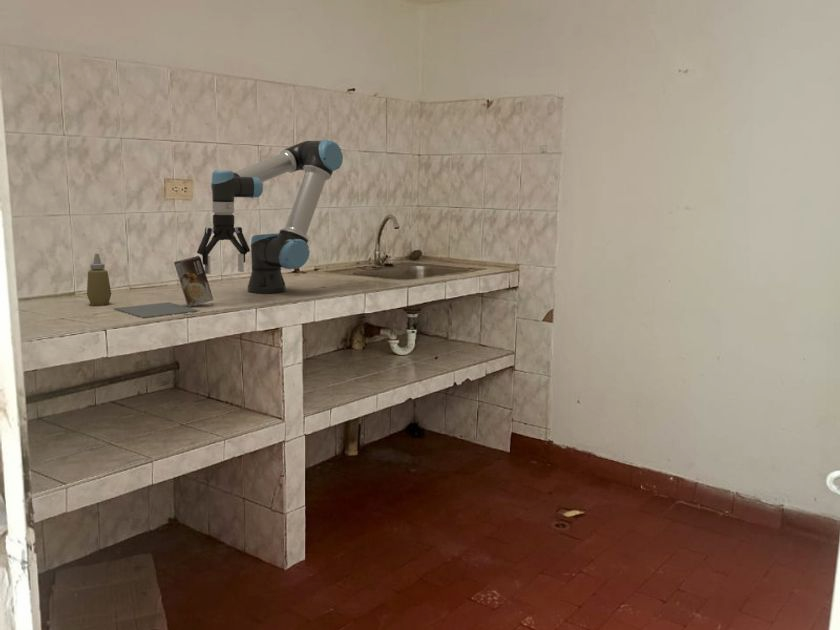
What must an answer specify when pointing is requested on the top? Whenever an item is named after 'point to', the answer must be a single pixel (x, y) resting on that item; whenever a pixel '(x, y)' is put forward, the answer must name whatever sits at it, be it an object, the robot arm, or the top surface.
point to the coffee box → (193, 281)
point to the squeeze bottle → (98, 283)
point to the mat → (156, 309)
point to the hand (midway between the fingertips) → (224, 272)
